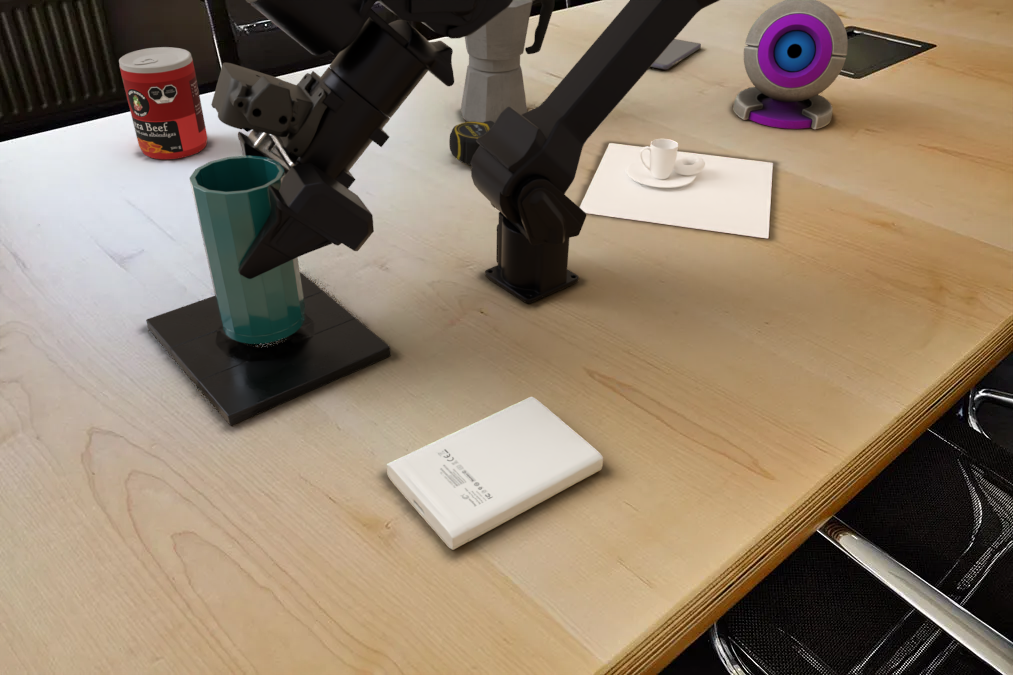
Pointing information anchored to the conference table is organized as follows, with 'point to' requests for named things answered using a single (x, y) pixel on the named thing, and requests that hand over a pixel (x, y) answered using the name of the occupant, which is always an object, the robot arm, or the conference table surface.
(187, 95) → the canned food
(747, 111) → the webcam
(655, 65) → the smartphone
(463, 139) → the tape measure
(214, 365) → the drain plate
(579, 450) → the hard drive
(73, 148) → the conference table surface
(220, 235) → the tumbler
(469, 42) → the coffeepot
